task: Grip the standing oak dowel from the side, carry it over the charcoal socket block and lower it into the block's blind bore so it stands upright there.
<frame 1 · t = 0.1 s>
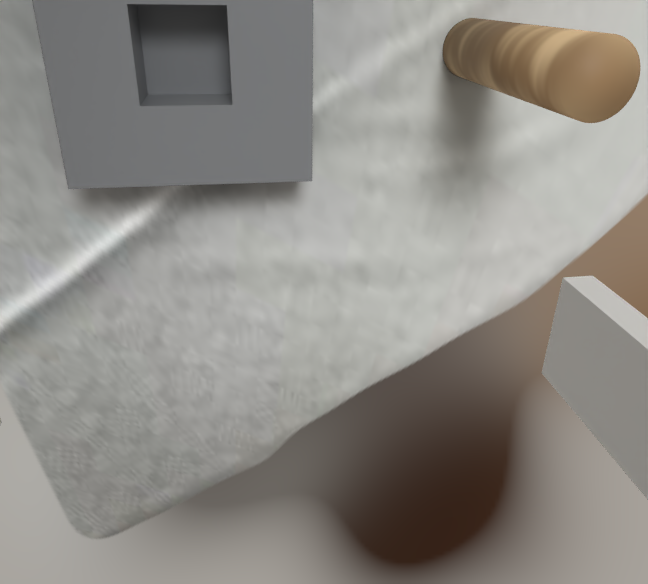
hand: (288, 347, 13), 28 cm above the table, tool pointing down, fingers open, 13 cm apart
socket block: (187, 48, 36), on the table
oak dowel: (469, 48, 38), on the table
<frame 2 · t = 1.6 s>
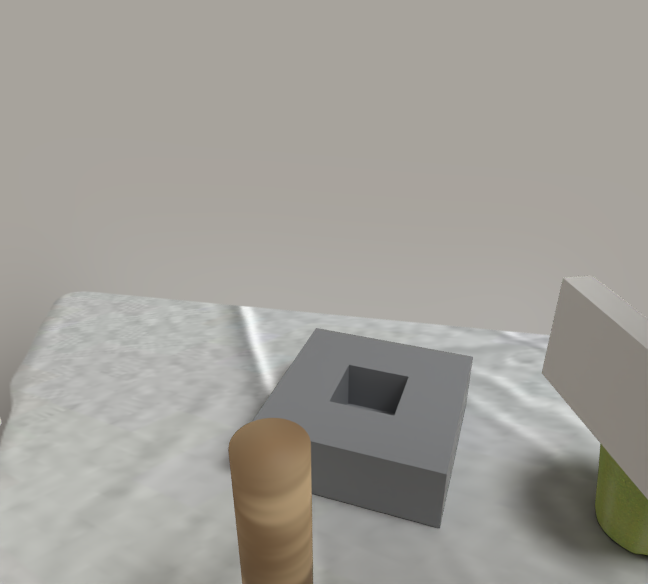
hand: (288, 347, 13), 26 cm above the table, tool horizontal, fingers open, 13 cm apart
socket block: (368, 437, 48), on the table
plant pot: (640, 525, 40), on the table
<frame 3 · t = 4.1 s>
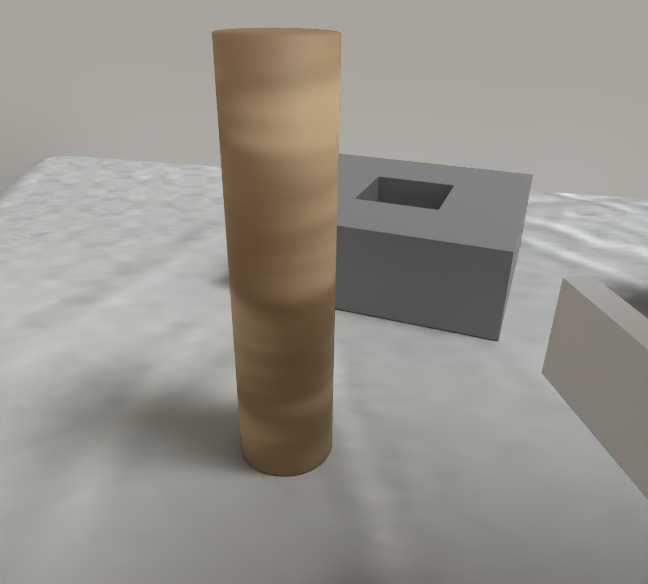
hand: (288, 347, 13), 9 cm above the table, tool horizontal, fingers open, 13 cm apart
socket block: (400, 265, 38), on the table
oak dowel: (286, 442, 23), on the table
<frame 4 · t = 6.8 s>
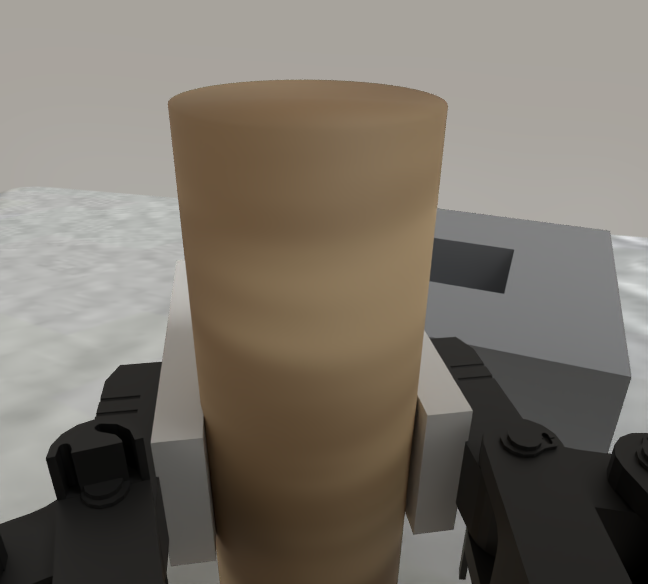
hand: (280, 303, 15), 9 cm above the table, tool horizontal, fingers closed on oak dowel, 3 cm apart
socket block: (442, 351, 30), on the table
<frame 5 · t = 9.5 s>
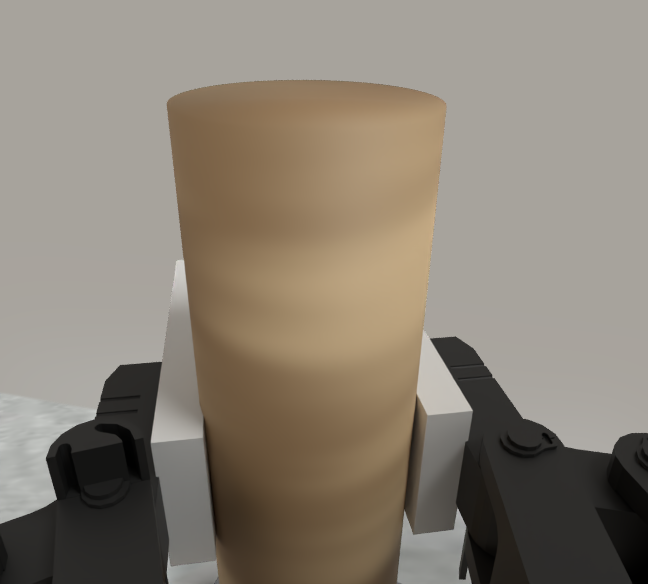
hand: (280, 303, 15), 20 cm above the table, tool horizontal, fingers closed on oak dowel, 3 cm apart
when the fingers open (11 cm above the table, at t = 12.5 s): oak dowel stays where it is, resting on socket block.
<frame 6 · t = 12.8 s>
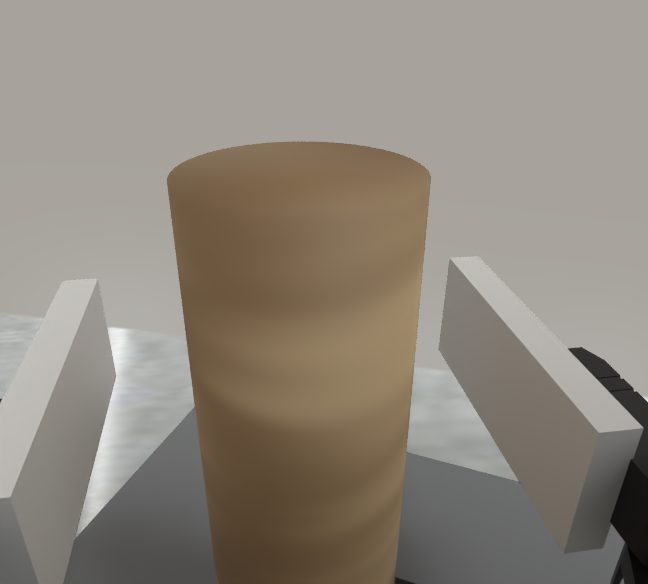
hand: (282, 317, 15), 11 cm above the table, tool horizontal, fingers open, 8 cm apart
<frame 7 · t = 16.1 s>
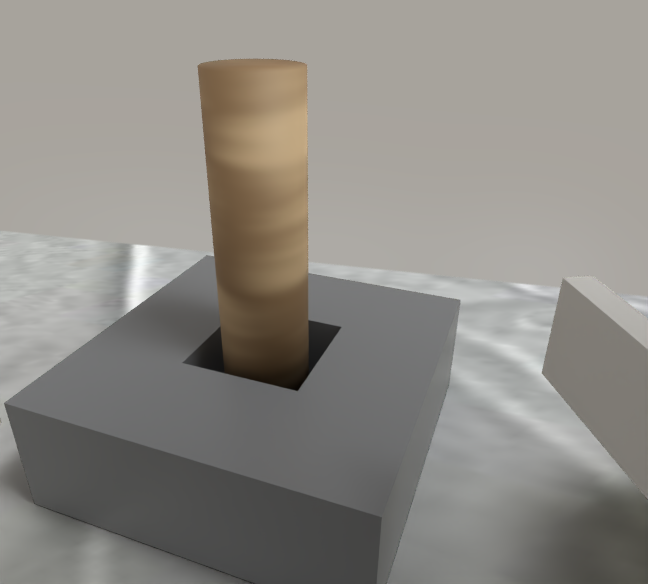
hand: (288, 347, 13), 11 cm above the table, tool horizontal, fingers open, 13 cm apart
socket block: (269, 435, 27), on the table
oak dowel: (269, 418, 26), point 1 cm above the table, touching socket block
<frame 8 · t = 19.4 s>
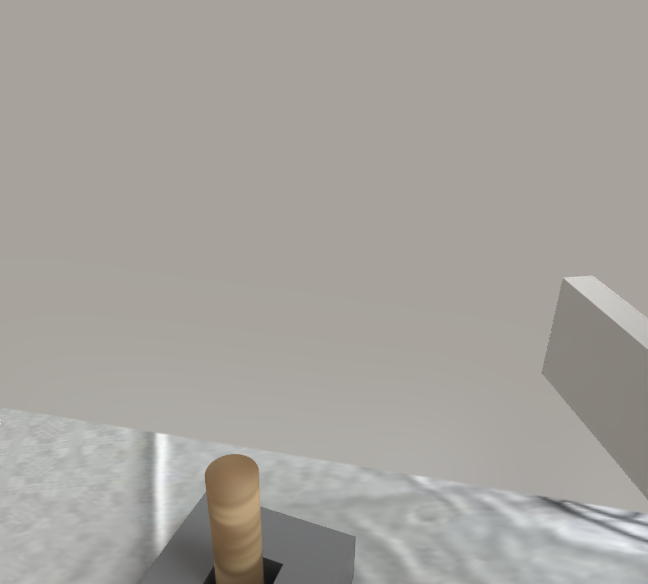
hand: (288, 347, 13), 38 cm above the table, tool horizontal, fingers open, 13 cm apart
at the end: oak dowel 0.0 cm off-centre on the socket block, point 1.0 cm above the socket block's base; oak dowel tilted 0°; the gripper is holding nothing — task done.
